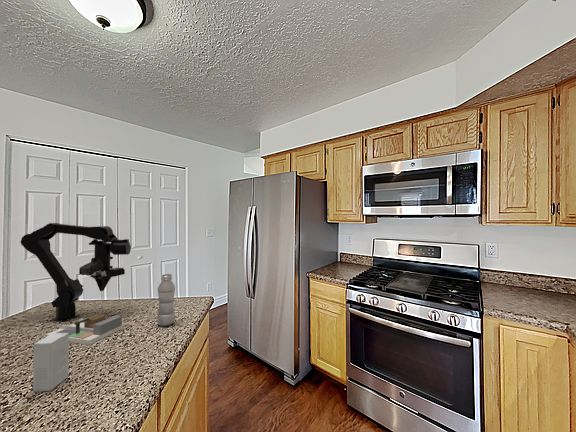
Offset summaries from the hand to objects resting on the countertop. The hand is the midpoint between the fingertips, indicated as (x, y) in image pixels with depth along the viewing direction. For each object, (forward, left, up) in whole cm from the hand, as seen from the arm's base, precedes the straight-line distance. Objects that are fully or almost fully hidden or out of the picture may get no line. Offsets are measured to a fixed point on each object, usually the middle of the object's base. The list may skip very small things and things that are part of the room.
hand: (101, 290), depth 114 cm
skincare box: (+30, -41, -11) cm, 52 cm away
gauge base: (+10, -15, -11) cm, 21 cm away
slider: (+12, -16, -9) cm, 22 cm away
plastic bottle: (+33, -1, -11) cm, 35 cm away
